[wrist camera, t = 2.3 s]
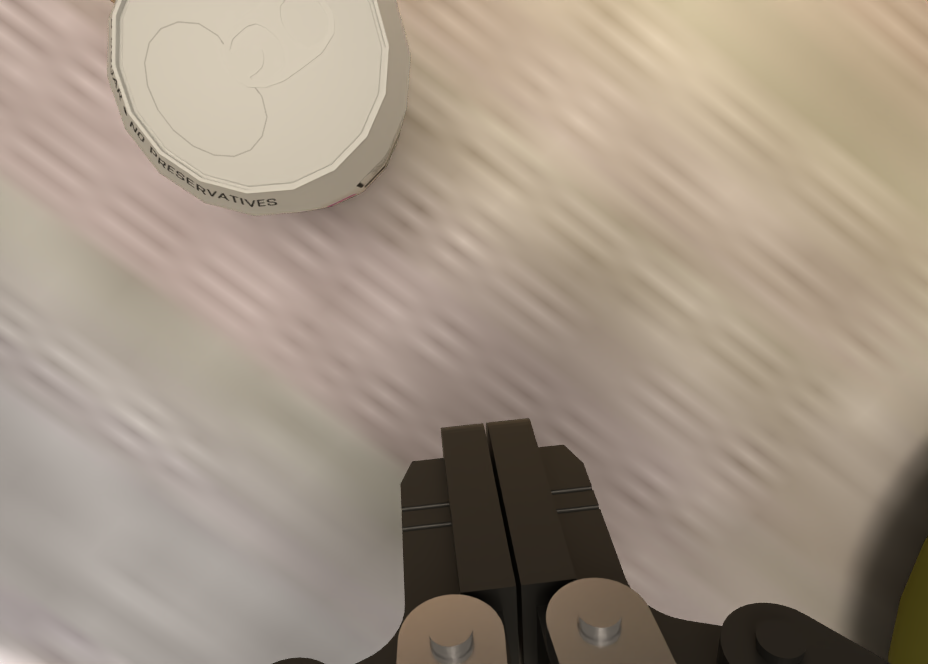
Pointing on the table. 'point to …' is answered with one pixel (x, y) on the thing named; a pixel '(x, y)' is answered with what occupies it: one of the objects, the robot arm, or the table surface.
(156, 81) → the supplement can
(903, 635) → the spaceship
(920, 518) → the table surface
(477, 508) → the robot arm
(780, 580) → the table surface
